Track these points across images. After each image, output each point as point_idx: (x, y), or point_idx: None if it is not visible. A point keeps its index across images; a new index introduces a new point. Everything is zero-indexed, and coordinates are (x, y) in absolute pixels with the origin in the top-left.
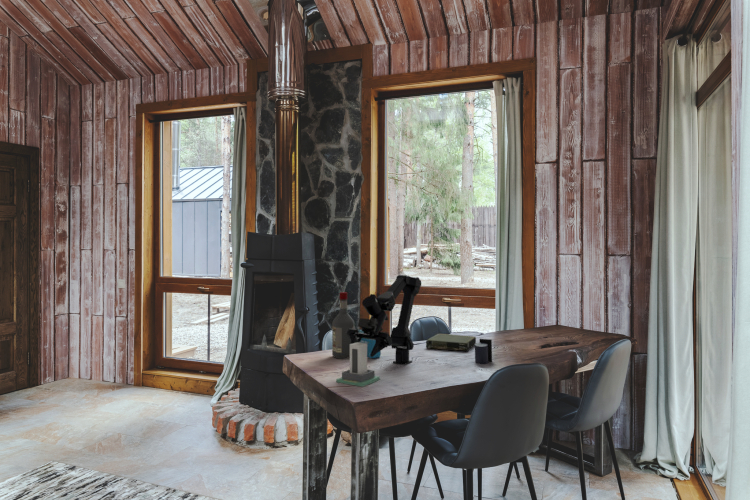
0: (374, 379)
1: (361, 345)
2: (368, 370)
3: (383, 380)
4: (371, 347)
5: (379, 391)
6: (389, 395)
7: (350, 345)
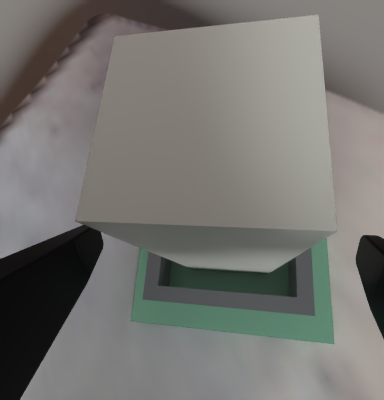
0: (140, 258)
1: (109, 67)
2: (184, 288)
3: (111, 307)
4: None
5: (71, 141)
6: (25, 122)
7: (297, 33)
